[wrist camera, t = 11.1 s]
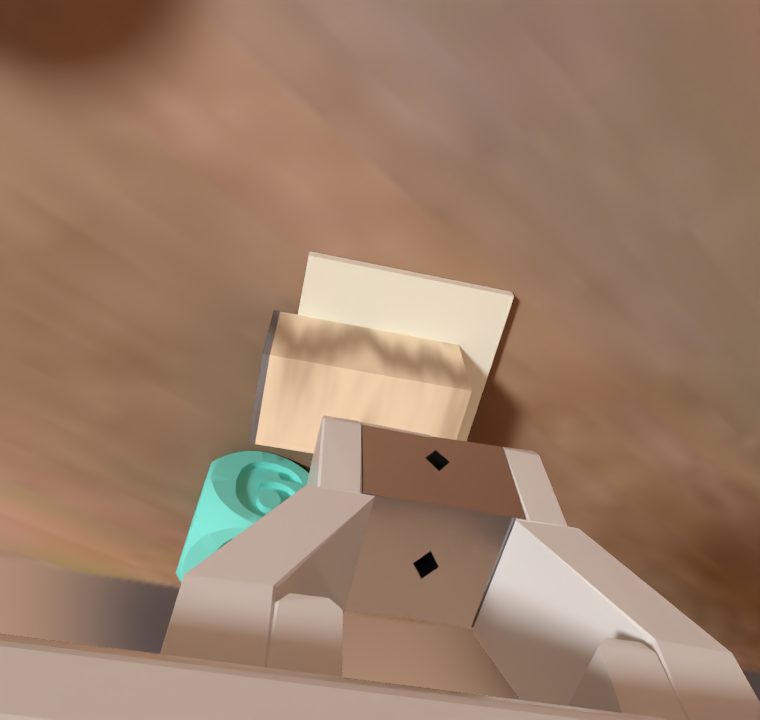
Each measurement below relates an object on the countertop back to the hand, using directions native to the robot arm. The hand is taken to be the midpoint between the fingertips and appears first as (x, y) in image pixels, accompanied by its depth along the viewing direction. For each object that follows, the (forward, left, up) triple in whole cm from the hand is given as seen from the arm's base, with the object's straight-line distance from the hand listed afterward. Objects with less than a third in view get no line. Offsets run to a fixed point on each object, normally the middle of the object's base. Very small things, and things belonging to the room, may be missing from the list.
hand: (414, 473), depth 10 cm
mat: (-5, +16, -34) cm, 38 cm away
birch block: (+3, +16, -30) cm, 34 cm away
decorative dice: (+2, +28, -34) cm, 44 cm away
